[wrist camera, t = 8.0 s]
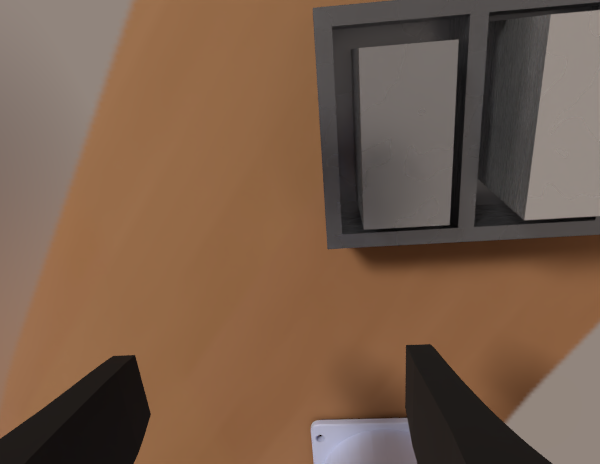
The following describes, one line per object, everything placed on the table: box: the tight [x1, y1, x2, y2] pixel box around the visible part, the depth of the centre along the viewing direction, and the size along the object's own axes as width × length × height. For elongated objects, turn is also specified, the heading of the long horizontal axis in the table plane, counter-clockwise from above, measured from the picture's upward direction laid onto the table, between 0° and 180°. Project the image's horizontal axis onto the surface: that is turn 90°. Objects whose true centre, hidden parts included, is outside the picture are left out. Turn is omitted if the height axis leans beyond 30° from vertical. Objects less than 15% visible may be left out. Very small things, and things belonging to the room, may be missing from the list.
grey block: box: [477, 10, 600, 220], centre depth 15 cm, size 6×3×5 cm, turn 4°
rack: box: [313, 0, 600, 249], centre depth 16 cm, size 9×11×4 cm
